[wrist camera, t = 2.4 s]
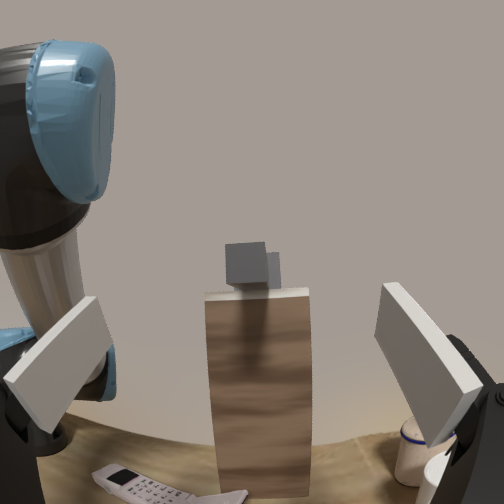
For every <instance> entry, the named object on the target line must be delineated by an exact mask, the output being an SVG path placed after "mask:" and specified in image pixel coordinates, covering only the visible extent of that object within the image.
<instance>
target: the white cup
mask: <svg viewBox="0 0 504 504" xmlns="http://www.w3.org/2000/svg"><path fill="white" fill-rule="evenodd" d="M446 452H447V450H446V451H443V452H441V453H439V454H437V455H435V456H434V457H433V458H431V459H430V460H429V461H428V462H427V464H426V465H425V468H424V472H423V476H422V480H421V484H420V488H419V492H418V495H417V499H416V503H415V504H430V502H431V500H432V498H433V496H434V494H435V491H436V489H437V487H438V485H439V482H440V480H441V478H442V475H443V473H444V470H445V468H446V465H447V462H448V459H449V457H450V454H451V452H450V453H449V454H448V455H447V456H445V453H446Z"/></svg>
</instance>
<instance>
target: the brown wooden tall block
mask: <svg viewBox="0 0 504 504" xmlns="http://www.w3.org/2000/svg"><path fill="white" fill-rule="evenodd" d="M204 297H205V323H206V343H207V360H208V373H209V374H208V375H209V388H210V400H211V411H212V422H213V431H214V440H215V449H216V458H217V466H218V473H219V481H220V488H221V494H223V493H229V492H232V491H237V490H247V491H248V496H247V498H249V499H269V498H291V497H304V496H309V485H310V467H311V441H312V355H311V353H312V352H311V324H310V304H309V288H308V287H303V288H289V289H270V290H251V291H231V292H205V293H204Z"/></svg>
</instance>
